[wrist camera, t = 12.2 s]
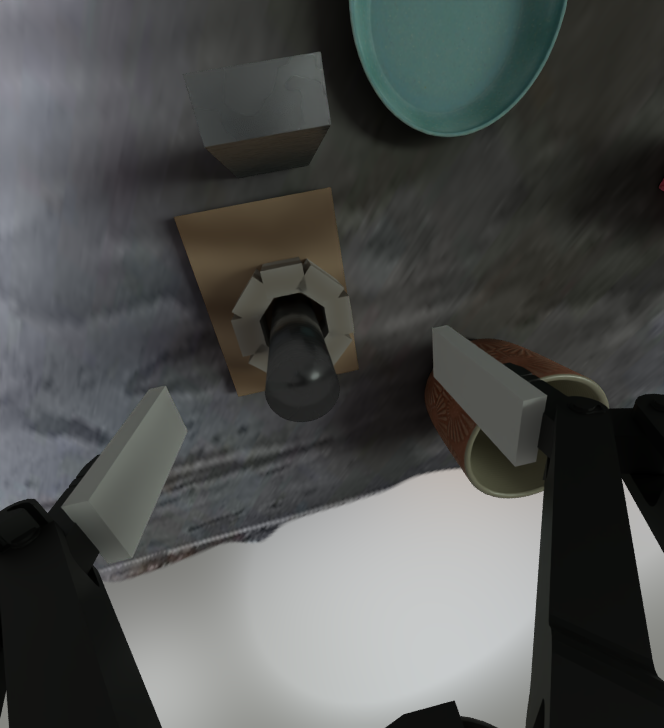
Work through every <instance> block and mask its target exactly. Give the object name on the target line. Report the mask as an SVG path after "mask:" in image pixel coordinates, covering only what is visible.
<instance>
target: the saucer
mask: <svg viewBox="0 0 664 728" xmlns="http://www.w3.org/2000/svg"><path fill="white" fill-rule="evenodd" d="M566 6H567V0H349V11H350V21H351V27H352V33H353V38H354V42H355V46H356V49H357V53H358V56H359V59H360V62H361V64H362V67H363V69H364V72H365V74H366V76H367V78H368V80H369V82H370V84H371V86H372V87H373V89H374V91H375V92H376V94H377V95H378V97H379V98H380V100H381V101H382V102H383V103H384V105H385V106H386V107H387V108H388V109H389V110H390V111H391V112H392V113H393V114H394V115H395V116H396V117H397V118H398V119H399V120H401V121H402V122H404V123H405V124H406V125H408V126H410V127H411V128H413V129H415V130H417V131H420V132H422V133H425V134H429V135H433V136H440V137H457V136H463V135H467V134H470V133H474V132H476V131H479V130H481V129H483V128H485V127H487V126H489V125H491V124H492V123H494V122H495V121H497V120H498V119H500V118H501V117H502V116H504V115H505V114H506V113H507V112H508V111H510V110H511V109H512V107H514V106H515V105H516V104H517V103H518V101H519V100H520V99H521V98H522V97H523V96H524V95H525V93H526V92H527V91H528V90H529V88H530V87H531V85H532V84H533V83H534V81H535V80H536V78H537V77H538V75H539V74H540V72H541V70H542V68H543V66H544V65H545V63H546V61H547V59H548V57H549V55H550V53H551V51H552V48H553V46H554V43H555V41H556V38H557V35H558V33H559V30H560V27H561V24H562V21H563V17H564V14H565V10H566Z"/></svg>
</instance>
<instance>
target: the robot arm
mask: <svg viewBox="0 0 664 728" xmlns="http://www.w3.org/2000/svg"><path fill="white" fill-rule="evenodd" d="M432 337H433V373H434V377H435V378H436V380H437V381H438V382H439V383H440V384H441V385H442V386H443V387H444V388H445V390H446V391H447V392H448V393H449V394H450V395H451V396H452V397H453V398H454V400H455V401H456V402H457V403H458V404H459V405H460V406H461V407H462V408H463V410H464V411H465V412H466V413H467V414H468V415H469V416H470V417H471V418H472V420H473V421H474V422H475V423H476V424H477V425H478V426H479V427H480V428H481V430H482V431H483V432H484V433H485V434H486V435H487V436H488V437H489V438H490V440H491V441H492V442H493V443H494V444H495V445H496V446H497V447H498V448H499V450H500V451H501V452H502V453H503V454H504V455H505V456H506V457H507V458H508V460H509V461H510V462H511V463H512V464H513V465H514V466H515V467H516V466H520V465H524V464H529V463H533V462H536V459H537V453H538V448H539V449H540V450H541V451H542V452H543V453H544V454H545V455H546V456H547V460H546V465H545V470H544V475H543V480H545V481H544V496H543V511H542V526H541V540H540V556H539V570H538V585H537V599H536V614H535V615H536V616H535V628H534V643H533V658H532V673H531V686H530V695H529V702H528V709H527V718H526V728H664V681H663V680H661V679H660V678H659V677H658V675H657V673H656V671H655V668H654V664H653V660H652V653H651V648H650V642H649V636H648V630H647V624H646V618H645V613H644V607H643V601H642V595H641V589H640V583H639V577H638V571H637V566H636V560H635V554H634V548H633V543H632V536H631V530H630V525H629V519H628V513H627V507H626V501H625V495H624V489H623V484H622V479H623V481H624V482H625V485H626V486H627V488H628V490H629V491H630V493H631V495H632V497H633V499H634V501H635V502H636V504H637V506H638V508H639V510H640V511H641V513H642V515H643V517H644V518H645V520H646V522H647V524H648V526H649V527H650V529H651V531H652V533H653V535H654V536H655V538H656V540H657V541H658V543H659V545H660V547H661V549H662V551H663V552H664V395H661V394H645V395H642V396H639V397H638V398H637V399H636V401H635V404H634V407H633V408H616V409H608V407H607V406H605V405H604V404H602V403H601V402H599V401H596V400H594V399H591V398H587V397H582V396H569V397H568V396H566V395H565V394H563V393H562V392H560V391H559V390H557V389H556V388H554V387H553V386H551V385H549V384H548V383H546V382H545V381H543V380H540V378H539V377H537V376H536V375H533V374H532V373H531V372H530V371H528V370H527V369H525V368H524V367H522V366H519V365H516V364H513V363H510V362H509V363H504V364H502V363H500V362H499V361H497V360H496V359H495V358H493V357H492V356H490V355H489V354H488V353H486V352H485V351H483V350H482V349H480V348H479V347H478V346H476V345H475V344H473V343H472V342H470V341H469V340H468V339H466V338H465V337H463V336H462V335H461V334H459V333H458V332H456V331H455V330H453V329H452V328H451V327H449V326H448V325H445V326H441V327H436V328H432ZM186 433H187V429H186V427H185V425H184V423H183V421H182V419H181V417H180V415H179V412H178V410H177V408H176V406H175V404H174V402H173V400H172V398H171V396H170V394H169V392H168V390H167V388H166V386H162V387H157V388H153V389H149V390H148V392H147V393H146V394H145V396H144V397H143V398H142V400H141V401H140V402H139V404H138V405H137V406H136V408H135V409H134V410H133V412H132V413H131V414H130V416H129V417H128V418H127V420H126V421H125V422H124V424H123V425H122V426H121V428H120V429H119V430H118V432H117V433H116V434H115V436H114V437H113V438H112V440H111V441H110V442H109V444H108V445H107V446H106V448H105V449H104V450H103V452H102V453H101V454H100V455H97V456H96V457H95V458H93V459H92V460H91V461H90V462H89V463H87V464H86V465H85V466H84V467H83V469H82V470H81V471H80V472H79V474H78V475H77V476H76V479H74V480H73V481H72V483H71V484H70V485H69V488H67V489H66V490H65V492H64V493H63V494H62V496H61V497H60V498H59V499H58V501H57V502H56V503H55V505H54V506H53V507H52V508H51V510H50V511H49V512H48V513H47V512H46V511H45V510H44V509H43V507H42V506H41V505H40V504H39V503H38V502H37V501H36V500H35V499H26V500H22V501H19V502H16V503H14V504H12V505H10V506H8V507H6V508H5V509H3V510H1V511H0V716H1V712H2V707H3V703H4V698H5V694H6V692H7V705H8V719H9V728H162V727H161V724H160V722H159V719H158V717H157V714H156V712H155V709H154V707H153V704H152V702H151V700H150V697H149V695H148V692H147V690H146V687H145V685H144V682H143V680H142V677H141V675H140V673H139V670H138V668H137V665H136V663H135V660H134V658H133V655H132V653H131V650H130V648H129V646H128V643H127V641H126V638H125V636H124V633H123V631H122V628H121V626H120V623H119V621H118V619H117V616H116V614H115V611H114V609H113V606H112V604H111V601H110V599H109V597H108V594H107V592H106V589H105V587H104V584H103V582H102V579H101V577H100V574H99V572H98V570H97V569H96V568H95V567H94V566H93V563H94V561H95V560H96V558H97V556H98V554H99V553H100V554H101V556H102V557H103V558H104V559H105V560H106V562H107V563H108V564H110V563H115V562H119V561H123V560H127V559H131V558H132V557H133V555H134V553H135V551H136V548H137V546H138V544H139V541H140V539H141V537H142V534H143V532H144V530H145V528H146V525H147V523H148V521H149V518H150V516H151V514H152V512H153V509H154V507H155V505H156V502H157V500H158V498H159V495H160V493H161V491H162V489H163V486H164V484H165V482H166V479H167V477H168V475H169V473H170V470H171V468H172V466H173V463H174V461H175V459H176V456H177V454H178V452H179V450H180V447H181V445H182V443H183V440H184V438H185V436H186ZM386 728H497V727H495V726H492V725H491V724H488V723H486V722H484V721H480V720H477V719H474V718H470V717H462V716H460V715H459V712H458V709H457V706H456V703H455V701H451V702H447V703H444V704H440V705H436V706H433V707H429V708H426V709H422V710H418V711H414V712H411V713H407V714H404V715H402V716H401V717H400V718H398V719H397V720H395V721H394V722H393V723H392V724H390V725H388V726H387V727H386Z"/></svg>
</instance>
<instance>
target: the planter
mask: <svg viewBox="0 0 664 728" xmlns="http://www.w3.org/2000/svg"><path fill="white" fill-rule="evenodd" d="M470 342H472V343H473V344H475V345H476V346H478V347H479V348H480V349H482V350H483V351H485V352H486V353H488V354H489V355H490V356H492V357H493V358H495V359H496V360H497V361H499V362H500V363H502V364H504V363H509V362H510V363H513V364H516V365H519V366H522V367H524V368H525V369H527V370H528V371H530V372H531V373H532V374H533V375H536V376H537V377H539V378H540V380H543V381H545V382H546V383H548V384H549V385H551V386H553V387H554V388H556V389H557V390H559V391H560V392H562V393H563V394H565V395H566V396H568V397H569V396H582V397H587V398H591V399H594V400H596V401H599V402H601V403H602V404H604V405H605V406H607V407H608V409H609V405H608V400H607V398H606V395H605V393H604V392H603V390H602V389H601V387H600V386H599V385H598V384H596V383H595V382H594V381H593V380H591V379H589V378H587V377H585V376H583V375H581V374H579V373H577V372H575V371H572V370H570V369H568V368H566V367H564V366H562V365H560V364H558V363H556V362H554V361H552V360H550V359H548V358H545V357H543V356H541V355H539V354H537V353H535V352H532V351H530V350H528V349H525V348H523V347H521V346H518V345H515V344H513V343H510V342H506V341H502V340H497V339H477V340H472V341H470ZM425 404H426V408H427V411H428V414H429V416H430V419H431V421H432V423H433V425H434V426H435V428H436V430H437V432H438V433H439V435H440V436H441V438H442V440H443V441H444V443H445V444H446V446H447V447H448V449H449V451H450V452H451V454H452V455H453V457H454V458H455V460H456V461H457V463H458V464H459V466H460V467H461V469H462V470H463V472H464V473H465V475H466V476H467V477H468V479H469V481H470V482H471V483H472V484H473V486H475V487H476V488H477V489H478V490H480V491H481V492H483V493H485V494H487V495H491V496H493V497H498V498H519V497H525V496H529V495H533V494H536V493H539V492H542V491H544V481H545V480H543V475H544V470H545V465H546V460H547V456H546V455H545V454H544V453H543V452H542V451H541V450H540V449H539V448H538V453H537V459H536V462H533V463H529V464H524V465H520V466H516V467H515V466H514V465H513V464H512V463H511V462H510V461H509V460H508V458H507V457H506V456H505V455H504V454H503V453H502V452H501V451H500V450H499V448H498V447H497V446H496V445H495V444H494V443H493V442H492V441H491V440H490V438H489V437H488V436H487V435H486V434H485V433H484V432H483V431H482V430H481V428H480V427H479V426H478V425H477V424H476V423H475V422H474V421H473V420H472V418H471V417H470V416H469V415H468V414H467V413H466V412H465V411H464V410H463V408H462V407H461V406H460V405H459V404H458V403H457V402H456V401H455V400H454V398H453V397H452V396H451V395H450V394H449V393H448V392H447V391H446V390H445V388H444V387H443V386H442V385H441V384H440V383H439V382H438V381H437V380H436V378H435V377H434V373H433V369H432V371H431V373H430V375H429V377H428V380H427V383H426V387H425Z"/></svg>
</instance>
